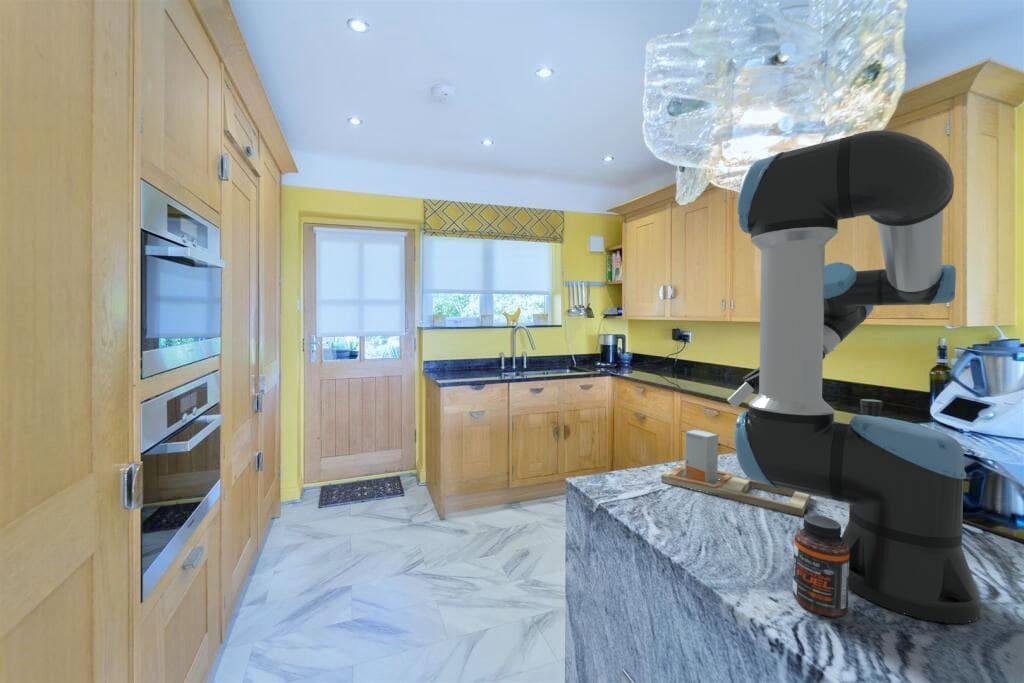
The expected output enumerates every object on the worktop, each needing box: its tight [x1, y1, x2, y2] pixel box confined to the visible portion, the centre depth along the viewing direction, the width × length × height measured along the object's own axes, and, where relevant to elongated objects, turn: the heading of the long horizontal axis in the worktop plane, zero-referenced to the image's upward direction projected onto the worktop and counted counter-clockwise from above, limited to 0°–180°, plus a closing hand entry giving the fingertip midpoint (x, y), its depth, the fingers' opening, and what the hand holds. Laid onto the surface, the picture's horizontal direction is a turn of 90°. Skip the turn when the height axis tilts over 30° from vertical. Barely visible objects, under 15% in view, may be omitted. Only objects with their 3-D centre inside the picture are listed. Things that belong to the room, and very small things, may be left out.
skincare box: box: [684, 429, 719, 484], centre depth 101 cm, size 6×4×12 cm
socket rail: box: [660, 463, 812, 517], centre depth 96 cm, size 12×28×2 cm, turn 48°
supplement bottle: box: [792, 514, 850, 618], centre depth 56 cm, size 6×6×11 cm
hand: (745, 409), depth 100 cm, fingers open, 13 cm apart
